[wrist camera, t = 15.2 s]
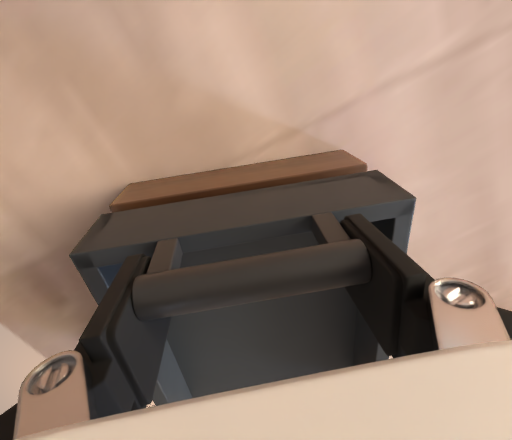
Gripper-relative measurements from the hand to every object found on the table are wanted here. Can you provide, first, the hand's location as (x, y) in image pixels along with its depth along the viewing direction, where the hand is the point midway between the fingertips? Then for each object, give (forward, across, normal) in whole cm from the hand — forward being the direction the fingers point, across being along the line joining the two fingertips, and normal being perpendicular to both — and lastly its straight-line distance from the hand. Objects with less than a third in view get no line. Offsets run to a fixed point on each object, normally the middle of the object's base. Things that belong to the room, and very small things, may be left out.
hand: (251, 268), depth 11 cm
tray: (+5, 0, +6) cm, 8 cm away
